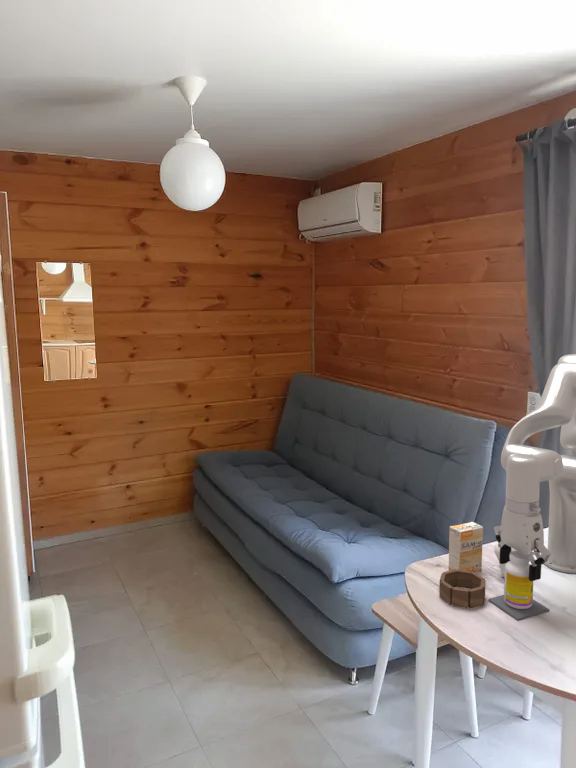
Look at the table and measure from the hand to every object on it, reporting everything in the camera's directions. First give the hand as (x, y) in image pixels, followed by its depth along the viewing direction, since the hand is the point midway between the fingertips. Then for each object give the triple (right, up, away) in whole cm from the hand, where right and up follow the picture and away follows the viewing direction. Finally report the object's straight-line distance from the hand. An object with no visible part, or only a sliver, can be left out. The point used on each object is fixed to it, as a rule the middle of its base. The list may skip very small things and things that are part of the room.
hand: (519, 570), depth 142 cm
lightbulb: (+2, -7, +16) cm, 17 cm away
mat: (0, -9, +1) cm, 9 cm away
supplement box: (-7, -7, +20) cm, 23 cm away
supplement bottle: (0, -9, +2) cm, 9 cm away
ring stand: (-12, -9, +7) cm, 16 cm away
